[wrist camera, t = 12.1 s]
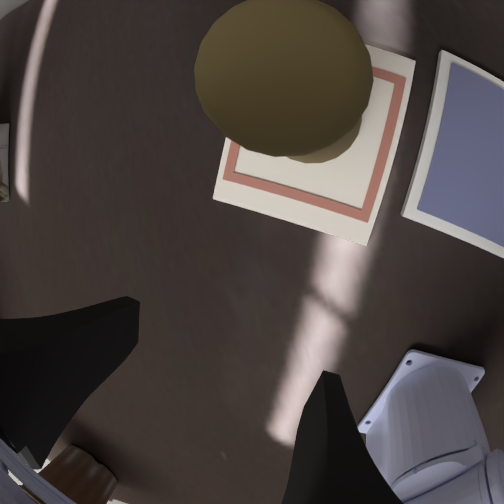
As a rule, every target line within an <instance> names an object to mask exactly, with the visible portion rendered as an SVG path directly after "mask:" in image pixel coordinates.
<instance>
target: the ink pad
mask: <svg viewBox="0 0 504 504" xmlns="http://www.w3.org/2000/svg"><path fill="white" fill-rule="evenodd" d="M401 215H402V216H403V217H406V218H409V219H411V220H414V221H417V222H419V223H422V224H424V225H427V226H429V227H432V228H435V229H437V230H440V231H442V232H445V233H447V234H449V235H452V236H454V237H457V238H459V239H461V240H464V241H466V242H468V243H471V244H473V245H475V246H478V247H480V248H482V249H484V250H487V251H489V252H491V253H493V254H495V255H498V256H500V257H502V258H504V82H503V81H501V80H500V79H498V78H496V77H495V76H493V75H491V74H489V73H488V72H486V71H484V70H482V69H480V68H478V67H477V66H475V65H473V64H471V63H469V62H467V61H465V60H463V59H461V58H459V57H457V56H455V55H453V54H450V53H448V52H446V51H444V50H441V51H440V52H439V55H438V62H437V69H436V75H435V81H434V86H433V92H432V97H431V102H430V107H429V112H428V116H427V121H426V125H425V130H424V134H423V138H422V142H421V146H420V150H419V154H418V157H417V161H416V165H415V168H414V172H413V175H412V179H411V182H410V185H409V189H408V192H407V195H406V198H405V202H404V205H403V208H402V211H401Z"/></svg>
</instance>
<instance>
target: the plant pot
mask: <svg viewBox="0 0 504 504" xmlns="http://www.w3.org/2000/svg"><path fill="white" fill-rule="evenodd" d="M38 474H39V475H40V476H41V477H42V478H44V479H45V480H46V481H47V482H48V483H50V484H51V485H52V486H53V487H55V488H56V489H57V490H59V491H60V492H61V493H63V494H64V495H65V496H67V497H68V498H69V499H71V500H72V501H74V502H75V503H77V504H106V503H107V502H108V500H109V498H110V496H111V494H112V493H113V491H114V489H115V487H116V486H117V484H118V481H117V479H116V477H115V476H114V475H113V473H112V472H111V471H109V470H108V469H107V468H106V467H105V466H104V465H103V464H99V463H97V462H96V461H95V459H94V457H93V456H91V455H90V454H88V453H87V452H85V451H84V450H82V449H81V448H79V447H76V446H73V445H69V446H68V447H67V448H66V449H65V450H64V451H62V452H61V453H60V454H59V455H58V456H57V457H56V458H55V459H54V460H53V461H51V462H50V463H49V464H48V465H47V466H46V467H45V468H44V469H43V470H41V471H40V472H39V473H38ZM19 486H20V487H21V488H22V489H23V490H24V492H25V493H26V494H27V495H28V496H29V497H30V498H31V499H32V500H33V501H34V502H35V503H36V504H46V503H45V502H44V501H43V500H41V499H40V498H39V497H38V496H37V495H35V494H34V493H33V492H32V491H31V490H30V489H29V488H27V487H26V486H25V485H24V484H23V485H19Z"/></svg>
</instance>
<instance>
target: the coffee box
mask: <svg viewBox="0 0 504 504" xmlns="http://www.w3.org/2000/svg"><path fill="white" fill-rule="evenodd" d="M8 146H9V123H7V124H0V202H4V201H9V178H8Z"/></svg>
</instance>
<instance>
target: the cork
mask: <svg viewBox="0 0 504 504" xmlns="http://www.w3.org/2000/svg"><path fill="white" fill-rule="evenodd" d="M194 73H195V91H196V93H197V96H198V98H199V100H200V103H201V105H202V108H203V110H204V113H205V114H206V115H207V116H208V117H209V119H210V120H211V121H212V122H213V123H214V124H215V126H216V127H217V128H218V129H219V130H220V131H221V132H222V134H223V135H224V136H225V137H227V138H228V139H230V140H232V141H233V142H235V143H237V144H238V145H240V146H242V147H243V148H245V149H246V150H249V151H253V152H257V153H261V154H265V155H269V156H273V157H284V156H286V157H288V158H289V159H291V160H295V161H299V162H302V163H324V162H326V161H329V160H332V159H335V158H337V157H339V156H340V155H341V154H343V153H344V152H345V151H347V150H348V149H349V148H350V147H351V145H352V144H353V142H354V141H355V139H356V138H357V136H358V134H359V130H360V126H361V122H362V114H363V113H364V111H365V110H366V108H367V107H368V103H369V99H370V95H371V90H372V86H373V82H374V79H373V71H372V64H371V57H370V53H369V51H368V49H367V48H366V46H365V44H364V42H363V40H362V38H361V36H360V35H359V33H358V31H357V29H356V28H355V26H354V25H353V24H352V23H351V22H350V21H349V20H347V19H346V18H345V17H344V16H343V15H342V14H341V13H340V12H339V11H337V10H336V9H335V8H333V7H331V6H329V5H327V4H325V3H322V2H320V1H318V0H247V1H245V2H243V3H240V4H238V5H236V6H234V7H232V8H231V9H230V10H228V11H227V12H226V13H225V14H224V15H222V16H221V17H220V18H219V19H218V20H216V21H215V22H214V24H213V25H212V27H211V28H210V30H209V31H208V33H207V34H206V36H205V37H204V39H203V40H202V42H201V44H200V48H199V51H198V55H197V59H196V62H195V66H194Z"/></svg>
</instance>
